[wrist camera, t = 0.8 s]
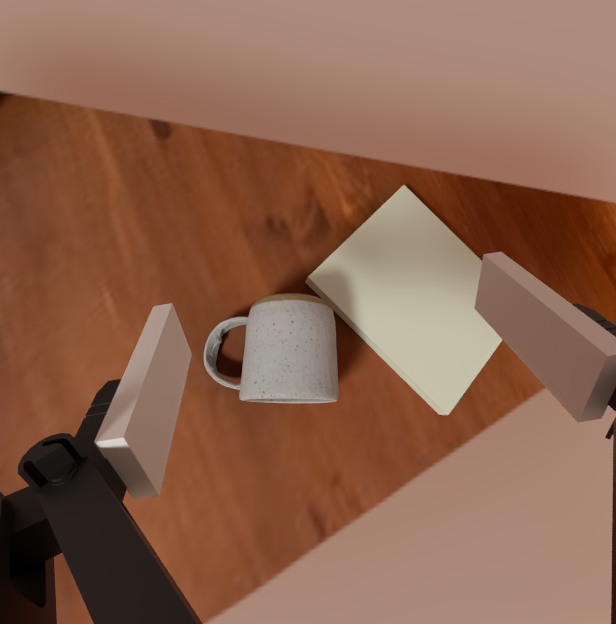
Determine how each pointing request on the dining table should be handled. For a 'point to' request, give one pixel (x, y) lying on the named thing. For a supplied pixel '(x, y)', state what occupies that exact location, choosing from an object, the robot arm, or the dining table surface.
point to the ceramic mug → (283, 351)
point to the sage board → (411, 298)
